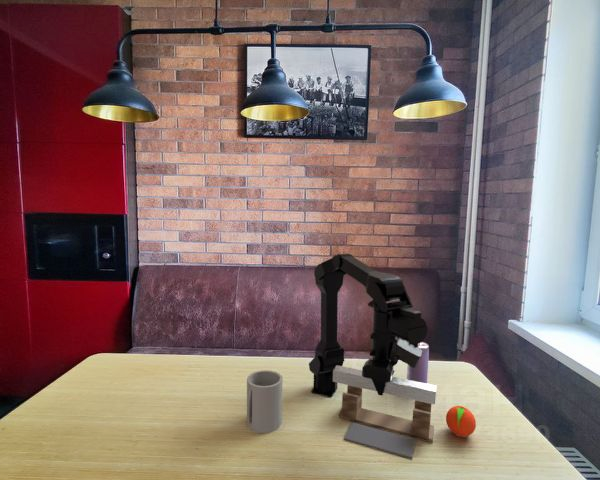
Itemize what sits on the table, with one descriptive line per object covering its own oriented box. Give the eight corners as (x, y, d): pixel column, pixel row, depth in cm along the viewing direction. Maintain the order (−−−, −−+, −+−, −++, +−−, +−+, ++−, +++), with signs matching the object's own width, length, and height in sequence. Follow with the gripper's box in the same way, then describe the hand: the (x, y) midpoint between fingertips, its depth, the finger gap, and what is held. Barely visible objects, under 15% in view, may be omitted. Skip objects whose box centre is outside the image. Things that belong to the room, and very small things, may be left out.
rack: (337, 417, 96) (338, 393, 95) (344, 406, 102) (345, 382, 101) (432, 442, 87) (434, 415, 86) (434, 428, 92) (435, 402, 92)
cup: (286, 416, 96) (287, 373, 95) (273, 436, 88) (274, 390, 87) (256, 409, 99) (256, 368, 98) (240, 428, 91) (240, 383, 90)
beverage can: (427, 397, 108) (430, 349, 106) (407, 394, 109) (409, 347, 107) (424, 387, 114) (427, 341, 112) (405, 384, 115) (407, 339, 113)
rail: (332, 381, 89) (333, 370, 89) (336, 376, 92) (336, 365, 92) (434, 404, 80) (435, 391, 80) (435, 397, 83) (436, 385, 83)
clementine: (472, 449, 85) (474, 421, 84) (441, 438, 88) (443, 411, 88) (476, 431, 92) (478, 405, 91) (447, 422, 95) (449, 397, 95)
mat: (344, 439, 87) (344, 438, 87) (351, 423, 94) (351, 422, 94) (412, 459, 81) (412, 457, 81) (415, 440, 88) (415, 439, 87)
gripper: (416, 349, 73) (412, 421, 75) (423, 322, 90) (420, 381, 92) (363, 340, 77) (360, 408, 79) (379, 316, 94) (376, 372, 96)
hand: (381, 391), depth 86 cm, fingers closed on rail, 3 cm apart
